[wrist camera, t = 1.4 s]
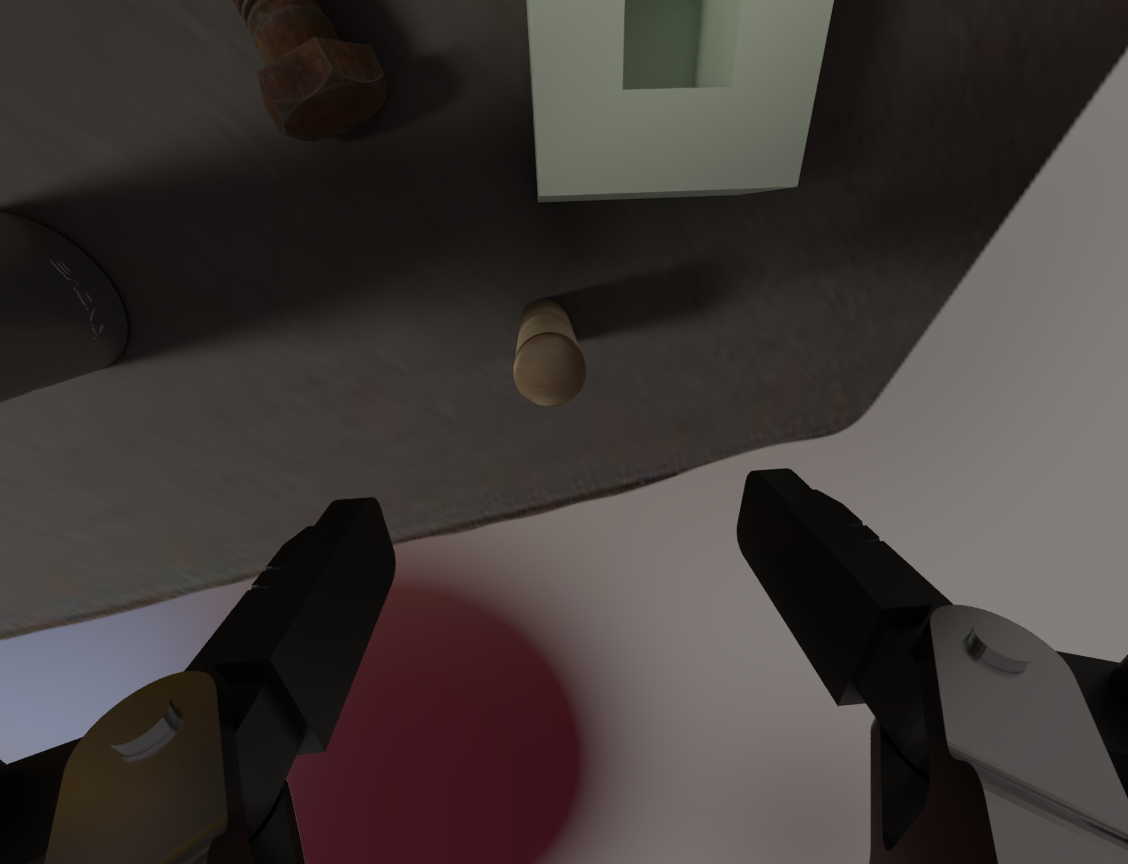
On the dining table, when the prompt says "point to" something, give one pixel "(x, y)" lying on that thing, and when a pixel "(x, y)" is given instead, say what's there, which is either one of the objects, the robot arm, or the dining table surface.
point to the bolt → (311, 70)
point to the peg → (548, 355)
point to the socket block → (672, 95)
